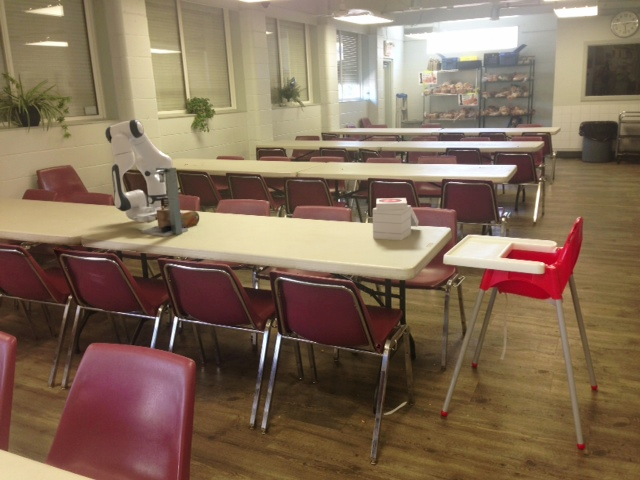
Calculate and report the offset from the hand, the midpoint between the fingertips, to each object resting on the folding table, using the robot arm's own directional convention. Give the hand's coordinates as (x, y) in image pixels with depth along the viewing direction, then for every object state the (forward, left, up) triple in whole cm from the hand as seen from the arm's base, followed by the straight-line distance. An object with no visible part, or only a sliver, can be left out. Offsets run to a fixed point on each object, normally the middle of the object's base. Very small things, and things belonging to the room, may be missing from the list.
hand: (162, 216), depth 317 cm
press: (+3, +2, -8) cm, 9 cm away
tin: (-17, +1, -9) cm, 19 cm away
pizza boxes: (-56, +115, -9) cm, 128 cm away
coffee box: (-17, -14, -9) cm, 24 cm away
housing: (0, +1, -7) cm, 7 cm away
